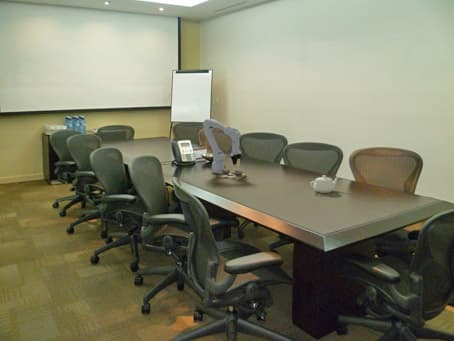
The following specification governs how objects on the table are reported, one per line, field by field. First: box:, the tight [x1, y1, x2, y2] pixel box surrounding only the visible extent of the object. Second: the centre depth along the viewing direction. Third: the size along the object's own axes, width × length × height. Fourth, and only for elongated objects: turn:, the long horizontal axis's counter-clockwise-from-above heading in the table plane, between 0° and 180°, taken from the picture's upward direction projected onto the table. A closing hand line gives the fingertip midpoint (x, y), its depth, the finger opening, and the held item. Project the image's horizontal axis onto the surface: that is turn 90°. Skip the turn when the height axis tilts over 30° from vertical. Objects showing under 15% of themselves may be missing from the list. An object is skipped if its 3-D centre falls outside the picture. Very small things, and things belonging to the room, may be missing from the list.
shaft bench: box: [217, 168, 247, 180], centre depth 313 cm, size 17×14×5 cm
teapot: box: [309, 174, 340, 194], centre depth 266 cm, size 22×14×11 cm, turn 111°
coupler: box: [232, 158, 241, 168], centre depth 319 cm, size 4×4×6 cm
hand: (235, 164), depth 319 cm, fingers closed on coupler, 4 cm apart
